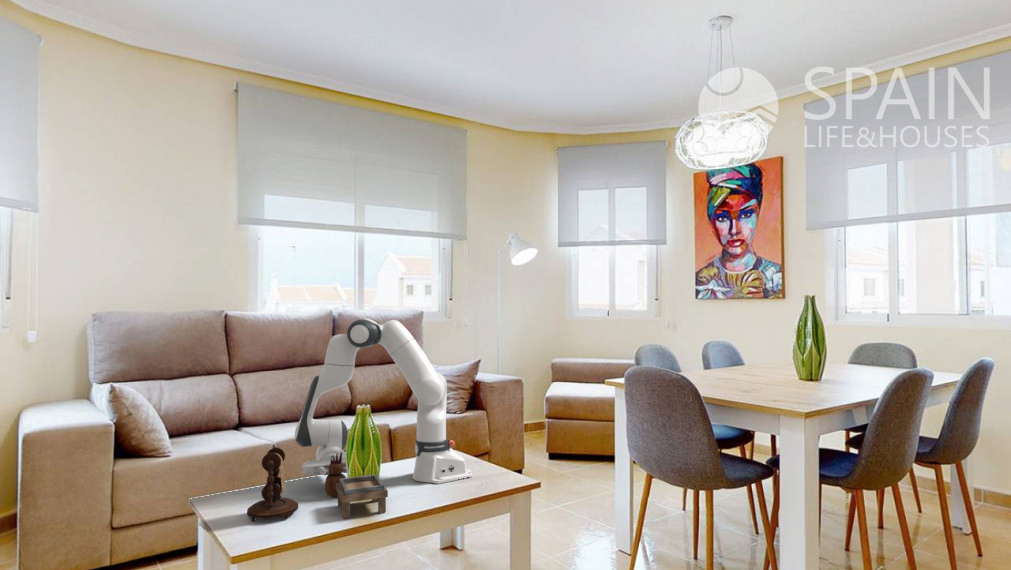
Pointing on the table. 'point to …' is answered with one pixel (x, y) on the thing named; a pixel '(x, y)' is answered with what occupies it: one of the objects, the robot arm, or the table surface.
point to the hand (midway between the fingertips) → (336, 471)
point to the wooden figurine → (334, 476)
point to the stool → (361, 492)
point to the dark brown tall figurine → (273, 490)
